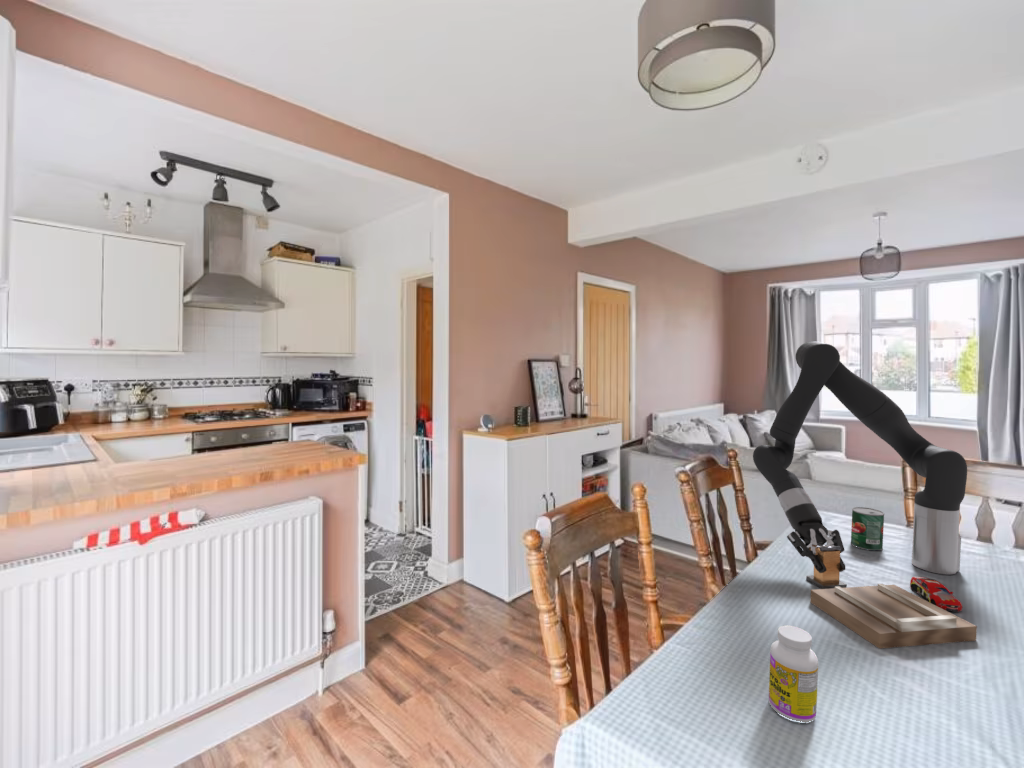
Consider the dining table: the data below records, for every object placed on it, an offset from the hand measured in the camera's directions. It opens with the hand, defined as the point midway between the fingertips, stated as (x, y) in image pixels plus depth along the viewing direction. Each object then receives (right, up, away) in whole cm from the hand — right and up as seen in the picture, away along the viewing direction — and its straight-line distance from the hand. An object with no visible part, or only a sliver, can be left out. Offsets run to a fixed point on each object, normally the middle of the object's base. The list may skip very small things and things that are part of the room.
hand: (832, 571), depth 118 cm
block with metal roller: (0, -4, +2) cm, 5 cm away
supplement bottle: (-35, -6, -42) cm, 55 cm away
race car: (+21, -5, -5) cm, 22 cm away
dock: (+2, -5, -15) cm, 16 cm away
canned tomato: (+29, -3, +27) cm, 40 cm away
